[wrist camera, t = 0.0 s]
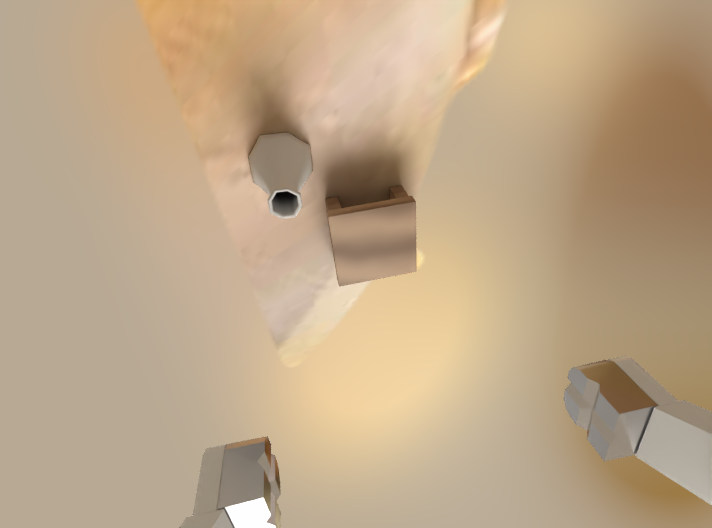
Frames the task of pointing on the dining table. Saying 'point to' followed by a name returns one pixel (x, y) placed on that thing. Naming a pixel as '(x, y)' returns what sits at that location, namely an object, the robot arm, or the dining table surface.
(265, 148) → the flask
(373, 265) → the walnut stand
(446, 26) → the dining table surface
